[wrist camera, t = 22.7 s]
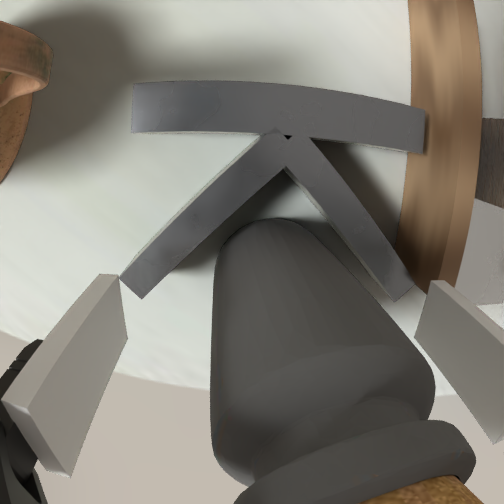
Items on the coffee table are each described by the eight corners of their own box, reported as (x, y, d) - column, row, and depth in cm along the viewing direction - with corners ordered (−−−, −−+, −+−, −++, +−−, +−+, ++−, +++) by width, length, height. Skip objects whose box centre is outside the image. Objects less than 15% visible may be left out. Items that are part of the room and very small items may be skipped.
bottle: (310, 325, 18) (422, 581, 4) (207, 315, 17) (205, 624, 3) (337, 227, 16) (582, 461, 2) (223, 208, 15) (254, 622, 1)
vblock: (135, 94, 13) (113, 85, 10) (408, 116, 14) (440, 114, 11) (138, 271, 16) (120, 298, 13) (386, 277, 17) (410, 301, 14)
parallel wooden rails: (407, -6, 11) (449, -34, 7) (518, 50, 12) (562, 44, 8) (391, 263, 17) (432, 300, 13) (501, 264, 17) (541, 291, 13)
